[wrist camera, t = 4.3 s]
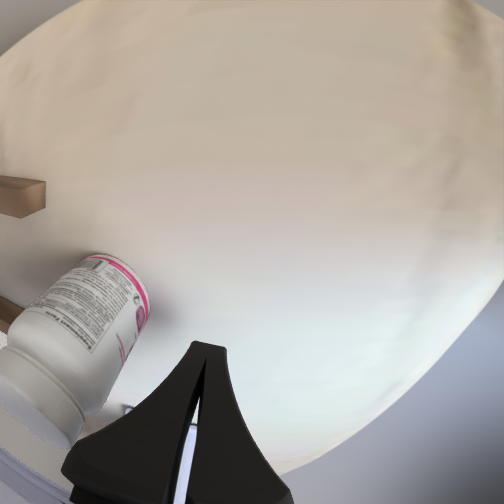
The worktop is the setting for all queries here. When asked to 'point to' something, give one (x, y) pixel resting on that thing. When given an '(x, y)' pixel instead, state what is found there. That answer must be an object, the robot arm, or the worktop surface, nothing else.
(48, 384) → the pill bottle
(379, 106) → the worktop surface
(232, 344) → the worktop surface
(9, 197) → the notched board
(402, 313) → the worktop surface
